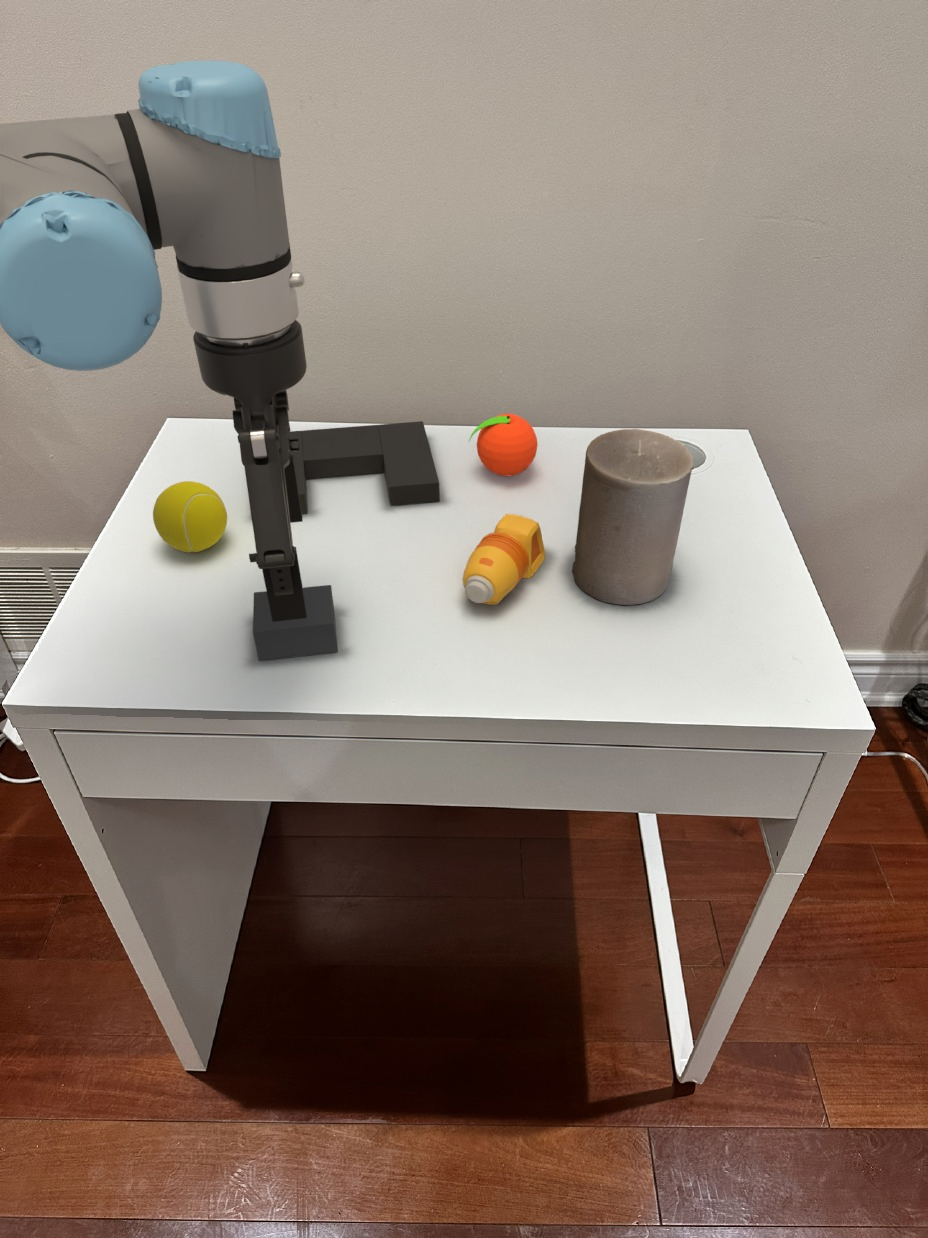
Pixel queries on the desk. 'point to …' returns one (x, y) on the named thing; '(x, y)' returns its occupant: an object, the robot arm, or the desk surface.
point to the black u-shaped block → (370, 459)
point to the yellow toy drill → (503, 559)
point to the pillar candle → (630, 515)
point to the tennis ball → (190, 516)
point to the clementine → (506, 444)
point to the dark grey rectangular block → (296, 627)
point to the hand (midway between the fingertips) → (288, 566)
